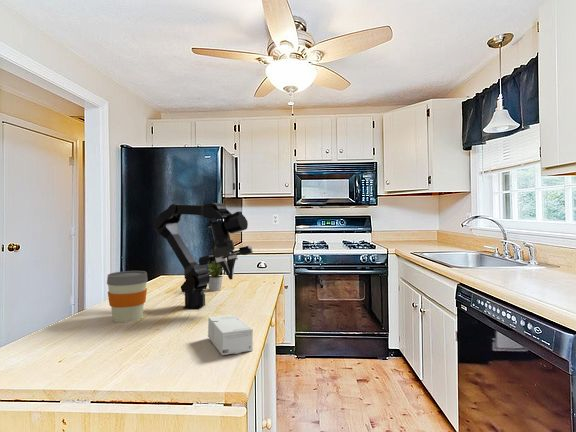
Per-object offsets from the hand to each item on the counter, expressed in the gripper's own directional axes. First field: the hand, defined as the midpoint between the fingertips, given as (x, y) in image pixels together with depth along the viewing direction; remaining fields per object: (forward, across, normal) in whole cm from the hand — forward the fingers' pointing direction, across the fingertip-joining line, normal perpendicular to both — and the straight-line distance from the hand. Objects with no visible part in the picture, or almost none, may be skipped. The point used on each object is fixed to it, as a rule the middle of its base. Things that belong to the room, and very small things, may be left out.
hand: (231, 279), depth 126 cm
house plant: (+4, -14, +36) cm, 39 cm away
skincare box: (+11, -2, -23) cm, 26 cm away
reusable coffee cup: (+4, -36, -5) cm, 36 cm away
